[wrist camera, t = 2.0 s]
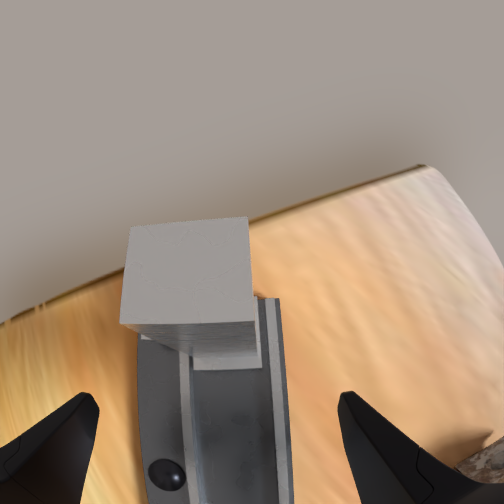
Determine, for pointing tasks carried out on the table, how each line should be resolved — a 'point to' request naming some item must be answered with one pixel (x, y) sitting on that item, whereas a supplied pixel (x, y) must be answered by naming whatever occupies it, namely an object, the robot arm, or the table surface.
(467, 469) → the caster wheel
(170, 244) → the block
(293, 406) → the table surface
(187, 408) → the rail
